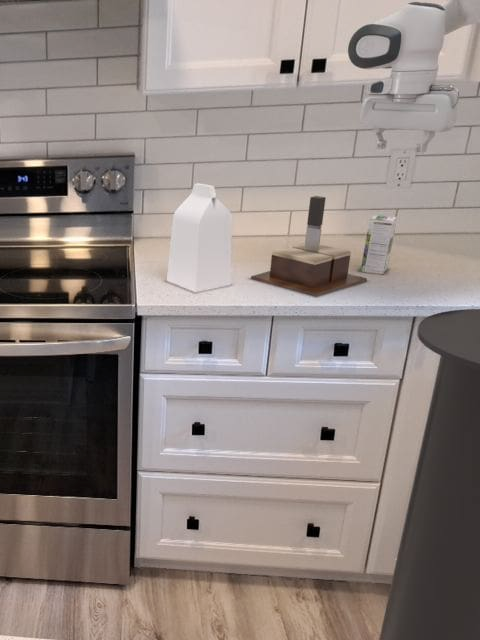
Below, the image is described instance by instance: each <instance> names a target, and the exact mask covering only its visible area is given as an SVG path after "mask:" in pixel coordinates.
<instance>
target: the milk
mask: <svg viewBox="0 0 480 640" xmlns="http://www.w3.org/2000/svg"><path fill="white" fill-rule="evenodd" d="M171 224H172V225H171V234H170V244H169V255H168V264H167V275H166V282H168V283H171V284H174V285H176V286H179V287H181V288H184V289H186V290H189V291H191V292H194V293H199V292H203V291H207V290H212V289H217V288H222V287H227V286H231V285H232V249H233V247H232V245H233V242H232V241H233V215H232V212H231V211H230V210H229V209H228V208H227V207H226V205H224V204H223V202H221V201H220V200H219V199H218V198H217V193H216V188H215V186H214V185H211V184H207V183H206V184H205V183H201V182H197V183H194V184H193V187H192V189H191V193H190V195H188V196H187V198H185V200H184V201H183V202H182V203H181V204H180V205H179V206H178V207H177V209H175V211H174V213H173V215H172V223H171Z"/></svg>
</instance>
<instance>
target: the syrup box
mask: <svg viewBox="0 0 480 640" xmlns="http://www.w3.org/2000/svg"><path fill="white" fill-rule="evenodd" d="M397 221H398V217H397V216H390V215H386V214H385V215H384V214H376V215H373V216H372V217H371V218H370V219H369V222H368V227H367V232H366V237H365V243H364V248H363V255H362V260H361V265H360V272H361V273H366V274H377V275H384V274H385V273H386V271H387V270H388V267H389V262H390V257H391V251H392V247H393V241H394V236H395V231H396V226H397Z"/></svg>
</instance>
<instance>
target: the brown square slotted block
mask: <svg viewBox="0 0 480 640" xmlns="http://www.w3.org/2000/svg"><path fill="white" fill-rule="evenodd" d="M304 247H305V242H303V243H299V244H295V245H291V246H287V247H283V248H279V249H275V250H272V252H271V260H270V268H269V271H265V272H261V273H257V274H254V275H251V276H250V279H251V280H253V281H257V282H260V283H264V284H267V285H272V286H275V287H279V288H281V289H286V290H289V291H293V292H297V293H299V294H304V295H306V296H307V295H308V296H311V297H316V298H317V297H321V296H324V295H327V294H331V293H333V292H338V291H341V290H344V289H347V288H351V287H353V286H357V285H360V284H363V283H367V278H366V277H363V276H358V275H356V274H355V275H354V274H350V273H349V269H350V268H349V267H350V260H351V254H352V250H347V249H342V248H337V247H333V246H328V245H323V244H319V252H318V253H314V252H310V251H305V250H304Z"/></svg>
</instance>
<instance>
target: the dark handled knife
mask: <svg viewBox="0 0 480 640" xmlns="http://www.w3.org/2000/svg"><path fill="white" fill-rule="evenodd" d="M325 206H326V196H321V195H319V196H318V195H313V196H310V199H309V206H308V215H307V221H306V222H307V223H306V225H307V226H306V232H305V239H304V243H305V247H304V250H305V251H310V252H314V253H318V252H319V245H321V244H320V243H321V236H322V226H323V221H324V214H325Z"/></svg>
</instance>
